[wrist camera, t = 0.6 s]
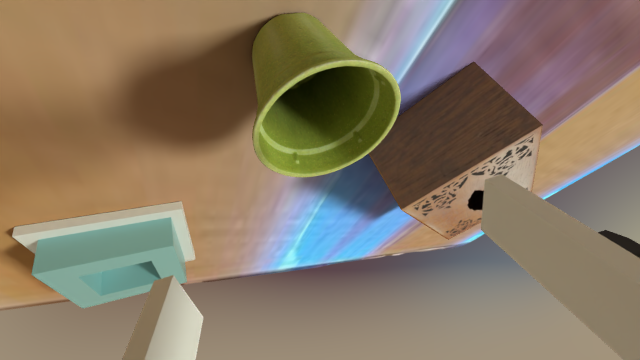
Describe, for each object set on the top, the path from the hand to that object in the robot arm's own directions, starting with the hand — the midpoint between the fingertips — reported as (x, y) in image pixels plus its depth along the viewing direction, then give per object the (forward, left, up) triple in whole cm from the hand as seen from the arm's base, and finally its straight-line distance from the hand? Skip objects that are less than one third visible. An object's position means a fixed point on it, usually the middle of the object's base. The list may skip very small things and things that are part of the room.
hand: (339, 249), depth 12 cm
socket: (+15, -25, -16) cm, 33 cm away
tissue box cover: (+27, +17, -17) cm, 36 cm away
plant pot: (+2, +2, -17) cm, 17 cm away
